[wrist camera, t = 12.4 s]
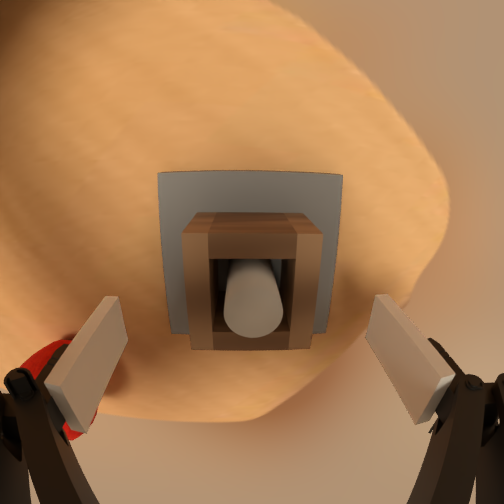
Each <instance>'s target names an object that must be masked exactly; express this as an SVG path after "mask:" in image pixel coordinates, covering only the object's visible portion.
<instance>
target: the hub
mask: <svg viewBox="0 0 504 504" xmlns="http://www.w3.org/2000/svg"><path fill="white" fill-rule="evenodd" d="M181 237H182V253H183V268H184V281H185V293H186V304H187V314H188V324H189V333H190V342H191V349H193V350H292V349H310V346H311V339H312V332H313V324H314V317H315V309H316V301H317V292H318V284H319V274H320V264H321V254H322V243H323V233H322V232H321V231H320V230H319V229H318V228H317V227H316V226H315V225H314V224H313V223H312V222H311V221H310V220H309V219H308V218H307V217H306V216H305V215H304V214H303V213H271V212H197V213H196V214H195V216H194V217H193V218H192V220H191V221H190V222H189V224H188V225H187V226H186V228H185V229H184V230H183V232H182V233H181ZM218 259H281V276H280V291H279V295H280V299H281V303H282V307H283V317H282V320H281V322H280V324H279V325H278V327H277V328H276V329H275V330H274V331H272V332H271V333H269V334H267V335H265V336H262V337H257V338H249V337H244V336H241V335H238V334H236V333H235V332H233V331H232V330H231V329H230V328H229V327H228V325H227V324H226V321H225V318H224V305H225V296H226V291H219V285H218Z"/></svg>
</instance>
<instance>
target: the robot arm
mask: <svg viewBox="0 0 504 504" xmlns="http://www.w3.org/2000/svg"><path fill="white" fill-rule="evenodd" d="M365 338H366V340H367V341H368V343H369V345H370V346H371V348H372V350H373V351H374V353H375V355H376V356H377V358H378V360H379V361H380V363H381V365H382V367H383V368H384V370H385V372H386V373H387V375H388V377H389V379H390V380H391V382H392V384H393V386H394V387H395V389H396V391H397V393H398V394H399V396H400V398H401V400H402V402H403V403H404V405H405V407H406V409H407V410H408V413H409V414H410V416H411V418H412V420H413V422H414V424H415V425H417V424H420V423H423V422H426V421H429V420H430V419H431V417H432V415H433V414H434V412H436V413H437V415H438V418H437V420H436V421H435V423H434V424H433V426H432V428H431V429H430V431H429V433H431V432H432V430H433V432H432V436H431V439H430V443H429V446H428V449H427V453H426V455H425V458H424V461H423V464H422V467H421V470H420V472H419V475H418V478H417V480H416V483H415V485H414V488H413V490H412V493H411V495H410V498H409V500H408V502H407V504H469V501H470V497H471V493H472V489H473V485H474V480H475V476H476V504H504V373H502V374H500V375H499V376H498V377H497V379H496V381H495V383H484V382H483V381H482V380H481V379H480V378H479V377H477V376H475V375H471V374H467V375H465V374H464V373H463V372H462V370H461V369H460V368H459V366H458V365H457V364H456V363H455V362H454V360H453V359H452V358H451V357H449V354H448V353H447V352H445V350H444V348H443V347H442V346H441V345H440V344H439V343H438V342H436V341H435V340H433V339H432V338H428V339H427V338H426V337H425V336H424V335H423V333H422V332H421V331H420V330H419V329H418V328H417V326H416V325H415V324H414V323H413V322H412V321H411V320H410V318H409V317H408V316H407V315H406V314H405V313H404V311H403V310H402V309H401V308H400V307H399V306H398V305H397V304H396V302H395V301H394V300H393V299H392V298H391V297H390V296H389V295H388V294H376V295H375V298H374V303H373V308H372V312H371V316H370V321H369V325H368V329H367V333H366V337H365ZM127 342H128V336H127V332H126V328H125V324H124V319H123V315H122V310H121V306H120V301H119V296H105V297H104V298H103V300H102V301H101V302H100V304H99V305H98V306H97V308H96V309H95V310H94V312H93V313H92V314H91V315H90V317H89V318H88V319H87V321H86V322H85V324H84V325H83V326H82V328H81V329H80V330H79V332H78V333H77V335H76V336H75V337H74V339H73V340H72V342H71V343H70V344H63V345H62V346H60V347H59V348H58V349H56V350H55V352H54V353H53V355H52V356H51V358H50V359H49V360H48V362H47V364H45V366H44V367H43V369H42V370H41V372H40V373H39V375H38V376H37V377H36V379H35V380H34V378H33V376H32V374H31V372H30V370H28V369H27V368H22V367H21V368H15V369H13V370H11V371H10V372H9V373H8V374H7V375H6V376H5V378H4V384H5V386H6V388H7V390H8V391H9V393H10V394H5V393H3V394H2V393H1V391H0V504H31V498H30V488H29V474H28V469H29V473H30V476H31V479H32V482H33V485H34V488H35V491H36V494H37V496H38V499H39V502H40V504H99V502H98V500H97V498H96V497H95V495H94V493H93V491H92V490H91V487H90V486H89V484H88V482H87V480H86V478H85V476H84V474H83V472H82V469H81V468H80V465H79V463H78V461H77V459H76V457H75V454H74V452H73V449H72V447H71V445H70V442H69V440H68V437H67V435H66V432H65V431H64V429H63V426H64V423H65V421H66V422H67V424H68V426H69V427H70V429H71V430H74V431H78V432H82V433H86V434H87V431H88V429H89V427H90V424H91V422H92V419H93V417H94V415H95V412H96V410H97V408H98V405H99V403H100V401H101V398H102V396H103V394H104V391H105V389H106V387H107V385H108V383H109V380H110V378H111V376H112V374H113V372H114V369H115V367H116V365H117V363H118V361H119V359H120V357H121V355H122V353H123V350H124V348H125V346H126V344H127ZM498 419H500V423H499V424H498Z"/></svg>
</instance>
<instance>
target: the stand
mask: <svg viewBox="0 0 504 504" xmlns="http://www.w3.org/2000/svg"><path fill="white" fill-rule="evenodd" d="M342 183H343V175H340V174H330V173H314V172H292V171H255V170H213V171H177V172H160V173H158V198H159V217H160V232H161V246H162V257H163V268H164V278H165V287H166V296H167V304H168V312H169V319H170V327H171V333H172V334H190V333H189V324H188V314H187V304H186V293H185V281H184V268H183V253H182V237H181V233H182V232H183V230H184V229H185V228H186V226H187V225H188V224H189V222H190V221H191V220H192V218H193V217H194V216H195V214H196V213H197V212H271V213H303V214H304V215H305V216H306V217H307V218H308V219H309V220H310V221H311V222H312V223H313V224H314V225H315V226H316V227H317V228H318V229H319V230H320V231H321V232H322V233H323V243H322V254H321V264H320V274H319V284H318V292H317V301H316V309H315V317H314V324H313V332H312V334H317V333H326V328H327V322H328V316H329V309H330V302H331V295H332V288H333V280H334V272H335V264H336V255H337V245H338V235H339V224H340V212H341V199H342ZM280 276H281V259H218V285H219V291H226V296H225V305H224V318H225V321H226V324H227V325H228V327H229V328H230V329H231V330H232V331H233V332H235V333H236V334H238V335H241V336H244V337H249V338H257V337H262V336H265V335H267V334H269V333H271V332H272V331H274V330H275V329H276V328H277V327H278V325H279V324H280V322H281V320H282V317H283V307H282V303H281V299H280V295H279V291H280Z"/></svg>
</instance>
